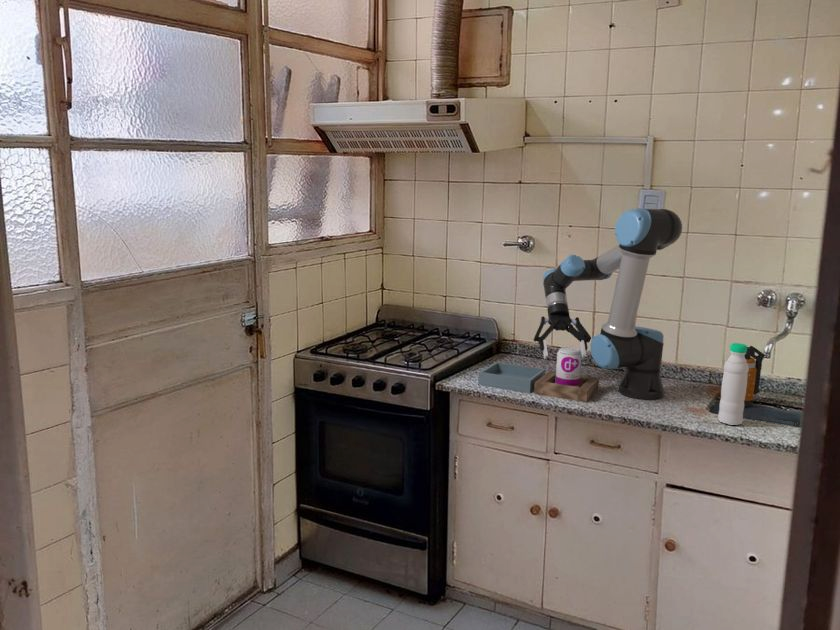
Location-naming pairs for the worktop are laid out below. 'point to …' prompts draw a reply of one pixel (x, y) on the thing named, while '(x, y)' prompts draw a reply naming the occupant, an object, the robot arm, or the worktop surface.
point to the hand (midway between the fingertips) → (565, 357)
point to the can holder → (566, 388)
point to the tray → (510, 377)
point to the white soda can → (568, 366)
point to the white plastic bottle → (734, 386)
